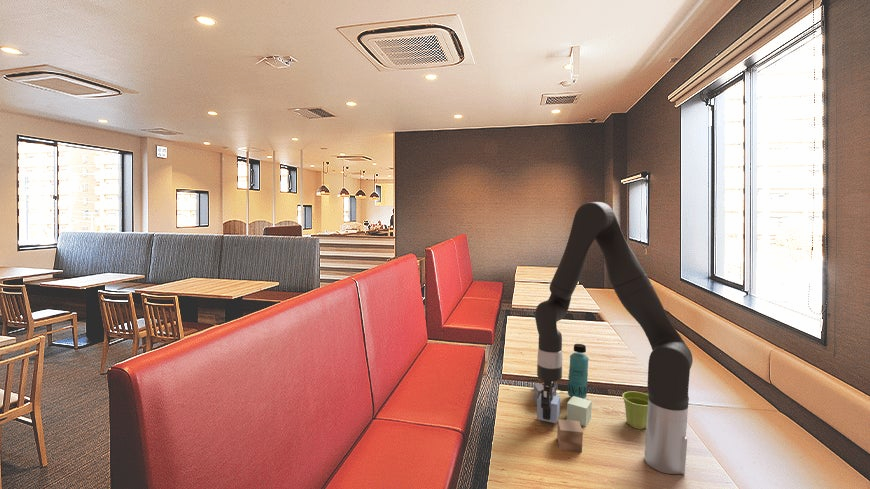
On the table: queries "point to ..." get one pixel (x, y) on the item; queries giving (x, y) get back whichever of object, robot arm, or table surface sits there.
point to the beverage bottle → (578, 372)
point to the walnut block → (569, 435)
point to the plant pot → (636, 408)
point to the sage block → (579, 410)
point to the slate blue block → (554, 409)
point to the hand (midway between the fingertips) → (548, 414)
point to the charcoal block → (537, 391)
